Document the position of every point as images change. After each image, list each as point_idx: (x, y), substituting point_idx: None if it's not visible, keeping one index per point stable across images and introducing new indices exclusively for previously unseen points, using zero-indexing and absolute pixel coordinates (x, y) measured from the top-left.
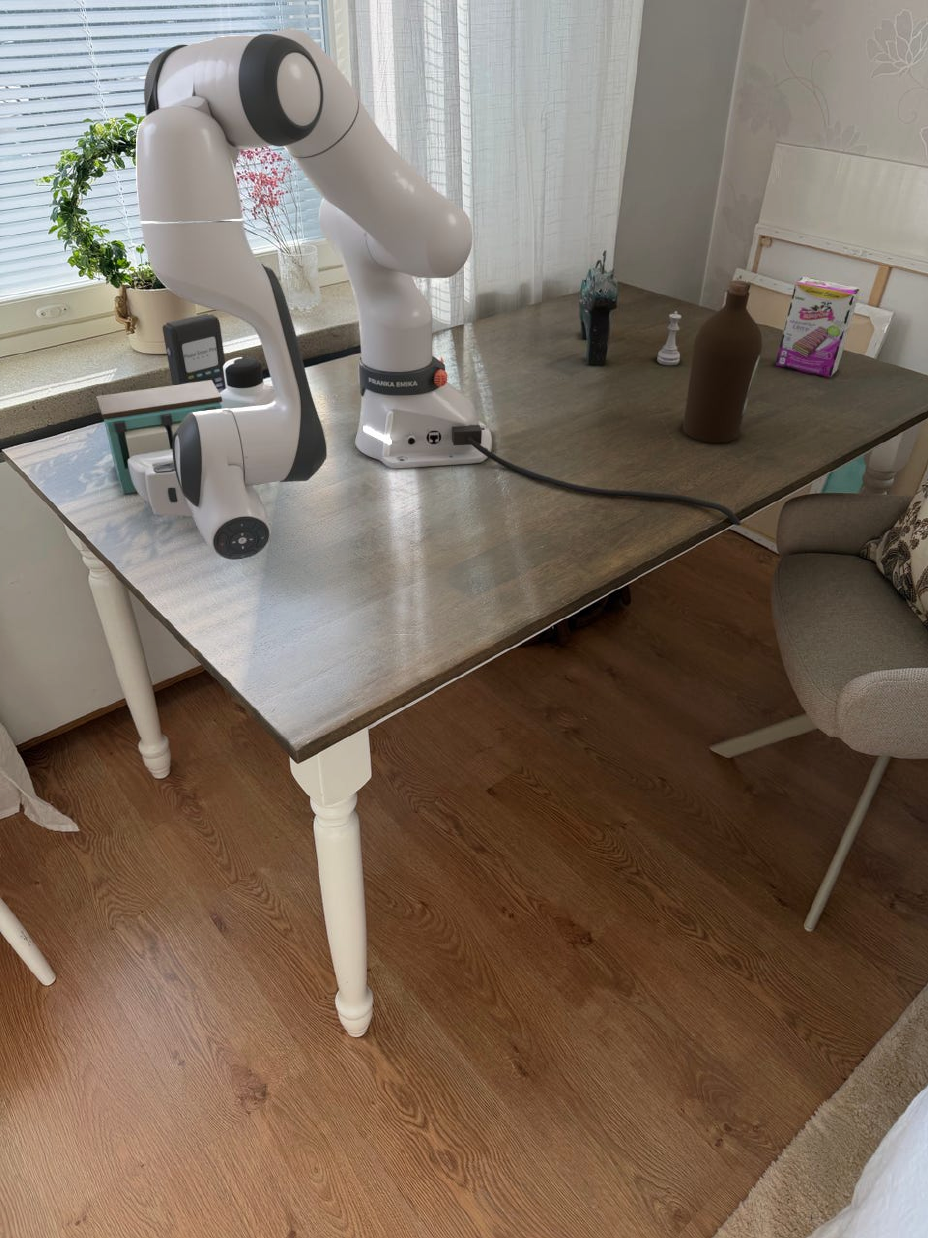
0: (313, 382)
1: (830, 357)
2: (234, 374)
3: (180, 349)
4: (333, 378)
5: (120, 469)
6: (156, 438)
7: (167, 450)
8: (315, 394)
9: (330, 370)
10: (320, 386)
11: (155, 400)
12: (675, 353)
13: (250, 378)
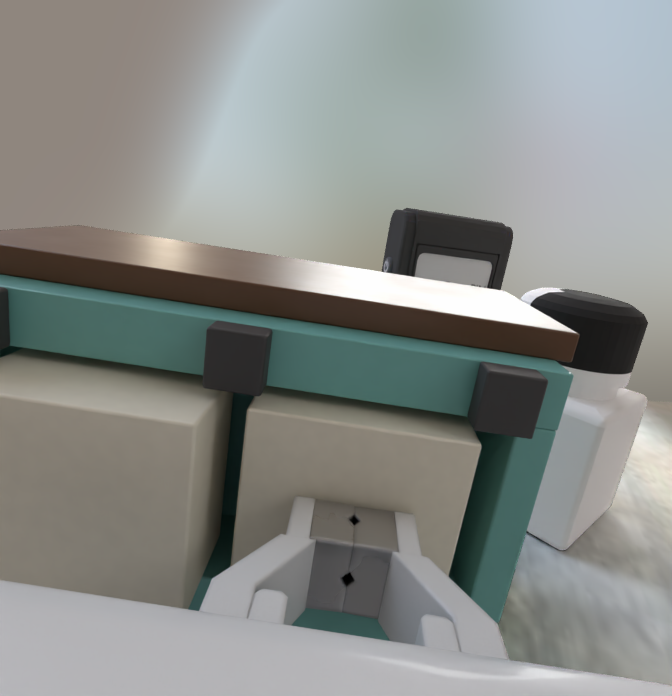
0: (643, 423)
1: None
2: (563, 318)
3: (412, 262)
4: None
5: None
6: (117, 447)
7: (33, 606)
8: (665, 450)
9: (666, 412)
10: (665, 436)
11: (247, 269)
12: None
13: (612, 344)
